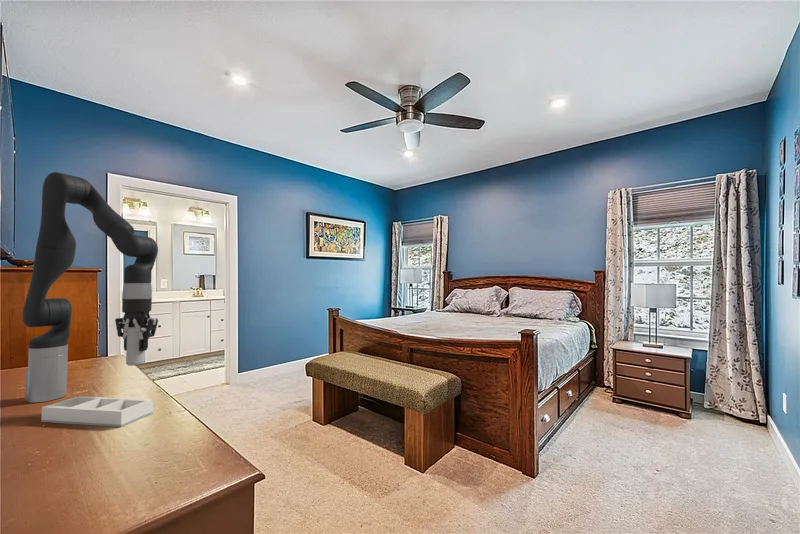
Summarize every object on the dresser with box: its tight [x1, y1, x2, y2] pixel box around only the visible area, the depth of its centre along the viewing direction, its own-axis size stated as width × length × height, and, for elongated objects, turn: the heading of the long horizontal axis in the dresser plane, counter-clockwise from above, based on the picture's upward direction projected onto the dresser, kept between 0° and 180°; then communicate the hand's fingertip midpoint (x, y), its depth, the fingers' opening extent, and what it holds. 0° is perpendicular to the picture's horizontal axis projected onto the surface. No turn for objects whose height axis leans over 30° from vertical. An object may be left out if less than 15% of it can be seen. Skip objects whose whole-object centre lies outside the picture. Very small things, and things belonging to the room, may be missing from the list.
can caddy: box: [40, 395, 154, 428], centre depth 97 cm, size 26×9×4 cm, turn 81°
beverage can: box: [125, 327, 146, 367], centre depth 110 cm, size 5×5×12 cm
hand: (135, 350), depth 110 cm, fingers closed on beverage can, 5 cm apart
